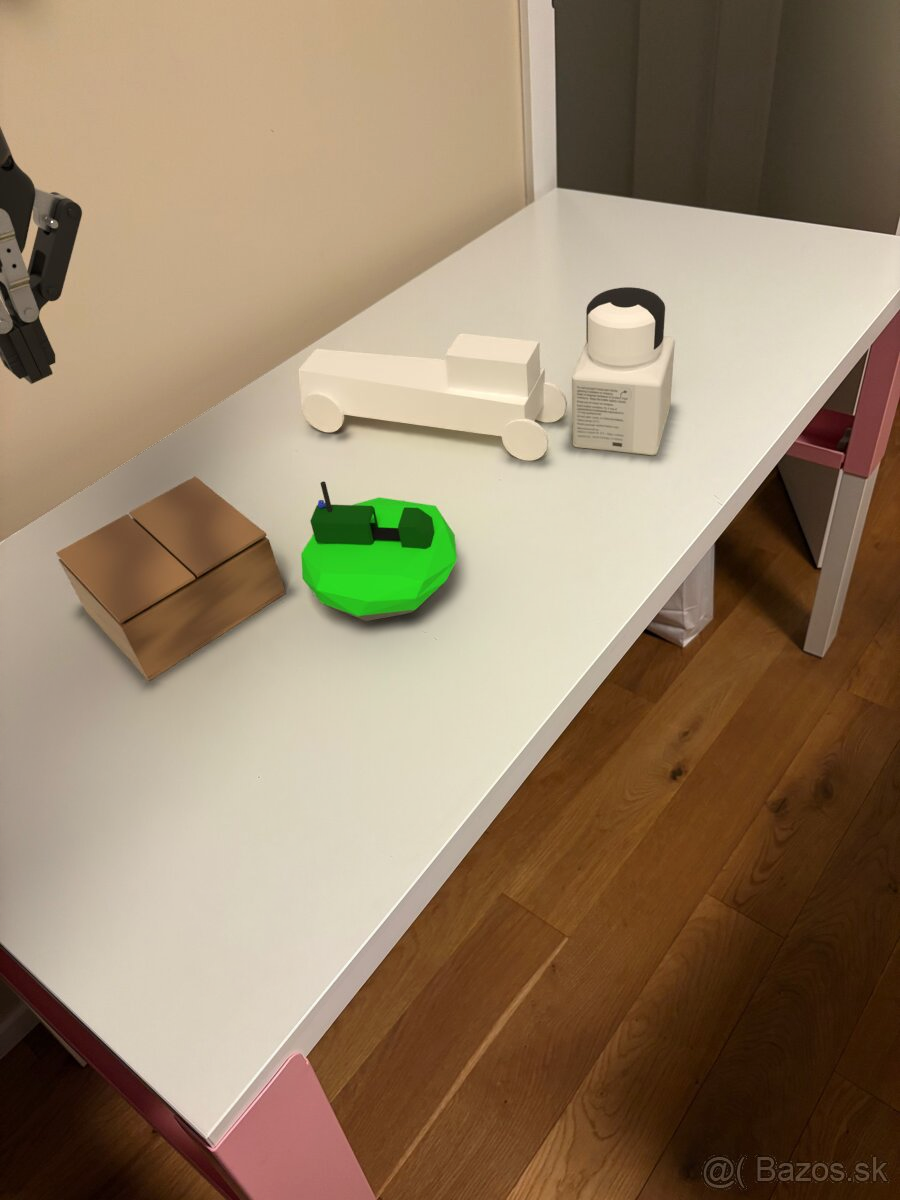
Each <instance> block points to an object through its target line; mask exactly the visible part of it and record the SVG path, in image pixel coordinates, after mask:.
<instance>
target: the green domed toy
mask: <svg viewBox="0 0 900 1200" xmlns="http://www.w3.org/2000/svg"><path fill="white" fill-rule="evenodd" d="M320 487H321V491H322V495H323V499H319V500H318V502H317V504H316V506H315V508H314V510H313V513H312V516H311V518H310V521H309V522H310V525H311V529H312V532H313V533H312V536H311V537H310V539H309V541H308V542H307V543H306V545H305V547H304V549H303V550H302V551H301V553H300V554H301V556H300V557H301V574H302V575H301V576H302V580H303V581H304V583H305V584H306V585H307V587H308V588H309V589H310V590H311V592H312V593H313V594H314V596H315V597H316V599H318V601H319V602H320V603H321V604H322V605H325V606H327V607H330V608H332V609H334V610H337V611H340V612H342V613H345V614H347V615H349V616H352V617H354V618H357V619H359V620H362V621H364V622H368V621H369V622H370V621H375V620H379V619H385V618H391V617H395V616H396V617H397V616H401V615H407V614H411V613H413V612H414V611H416V610H417V609H418V608H419V607H420V606H422V604H423V603H424V602H425V601H427V599H429V598H430V597H431V596H432V595H433V594H434V593H435V592H436V591H437V590H438V589H439V588H441V587H442V586H443V585H444V584H445V583H446V582H447V580H448V578H449V577H450V574H451V572H452V570H453V569H454V566H455V564H456V563H457V561H458V557H457V556H458V555H457V546H456V545H457V544H456V535H455V533H454V532H453V530H452V529H451V527H450V525H449V524H448V522H447V521H446V519H445V518H444V516H443V515H442V512H440V510H439V509H438V508H439V507H438V506H437V505H433V504H426V503H419V502H413V501H408V500H407V501H406V500H400V499H398V500H397V499H394V498H393V499H392V498H386V497H376V498H372V499H368V500H364V501H360V502H357V503H354V504H332V503H331V500H330V499H331V498H330V495H329V490H328V487H327V483H326V481H321V482H320Z"/></svg>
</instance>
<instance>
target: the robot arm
mask: <svg viewBox="0 0 900 1200" xmlns="http://www.w3.org/2000/svg"><path fill="white" fill-rule="evenodd" d="M32 180H33V179H31V177H30V176H29V175H28V174H27V173H25V171H23V169H21V168H20V166H19V165H18V164H17V163H16V161H15V158H14V157H13V154H12V151H11V149H10V147H9V143H8V141H7V139H6V136H5V134H4V131H3V130H2V127H1V126H0V360H1V362H2V364H3V366H4V367H5V368H6V369H7V370H8V371H9V372H10V373H12V374H13V375H14V376H15V377H17V378H18V379H19V380H21V379H24V380H26V381H27V382H28V383H29V384H30V385H33V384H35V383H37V382H39V381H41V380H43V379H45V378H49V377H50V376H53V374H54V372H53V370H52V368H51V365H54V364H56V353H55V351H54V348H53V346H52V344H51V342H50V340H49V337H48V335H47V333H46V331H45V328H44V326H43V324H42V322H41V319H40V312H41V310H42V309H43V307H44V306H46V305H47V304H48V302H55V301H57V300H59V299H60V297H62V292H63V289H64V285H65V282H66V277H67V274H68V271H69V270H68V269H69V266H70V262H71V259H72V254H73V251H74V248H75V243H76V240H77V235H78V232H79V228H80V223H81V220H82V217H83V210H82V207H81V206H80V205H79V203H77V202H75V201H74V200H73V199H71V198H69V197H68V196H66V195H64V194H61V193H59V192H56V191H52V192H47V191H45V190H43V189H39V188H36V187H35V183H34V182H33V181H32ZM31 219H32V220H33V222H34V224H35V225H36V226H37V230H36V234H35V239H34V243H33V247H32V249H31V250H32V251H31V254H30V258H29V262H28V266H26V264H25V260H24V258H23V256H22V254H23V252H24V250H25V248H26V243H27V239H28V234H29V230H30V224H31Z"/></svg>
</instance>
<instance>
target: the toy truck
mask: <svg viewBox="0 0 900 1200" xmlns="http://www.w3.org/2000/svg"><path fill="white" fill-rule="evenodd" d="M540 352H541V351H540V341H537V340H529V339H518V338H517V339H516V338H509V337H499V336H490V335H489V336H488V335H481V334H480V335H479V334H471V333H470V334H469V333H458V334H457V337H456V338H455V339H454V341H453V342H452V344H451V345H450V347H449V348H448V350H447V351H446V353H445V354H444V359H443V358H442V359H441V358H429V357H416V356H407V355H405V356H404V355H395V354H394V355H393V354H383V353H382V354H380V353H371V352H370V353H369V352H360V351H359V352H357V351H345V350H335V349H334V350H333V349H323V348H322V349H321V348H315V350H313V352H312V353H311V354H310V355H309V357H308V358H307V359H306V360H305V361H304V362H303V363H302V365H301V366H300V367H299V368H298V370H297V372H298V381H299V392H300V402H301V409H302V413H303V417H304V418H305V419H306V420H307V422H308V423H309V424H310V425H311V426H312V427H313V428H315V429H316V430H318V431H321V432H323V433H334V432H336V431H338V430H339V429H340V428H342V425H343V424H344V421H345V416H350V417H351V416H352V417H359V418H365V419H366V418H367V419H373V420H380V421H388V422H394V423H401V424H410V425H416V426H422V427H423V426H425V427H432V428H439V429H446V430H452V431H459V432H467V433H475V434H482V435H489V436H496V437H501V440H502V444H503V446H504V448H505V450H506V451H507V452H508V453H509V454H510V455H512V457H515V458H517V459H518V460H522V461H535V460H538V459H540V458H541V457H543V456H544V455H545V453H546V451H547V450H548V448H549V447H548V446H549V441H550V440H549V437H548V434H547V432H546V431H545V428H543V426H541V425H540V423H537V422H536V421H538V422H541V423H554V422H557V421H559V420H560V419H561V418H563V416H564V414H565V413H566V411H567V407H568V400H567V396H566V395H565V392H564V391H563V389H561V388H560V387H559V386H558V385H556V384H554V383H552V382H550V381H546V379H545V378H546V368H545V367H541V353H540Z"/></svg>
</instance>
